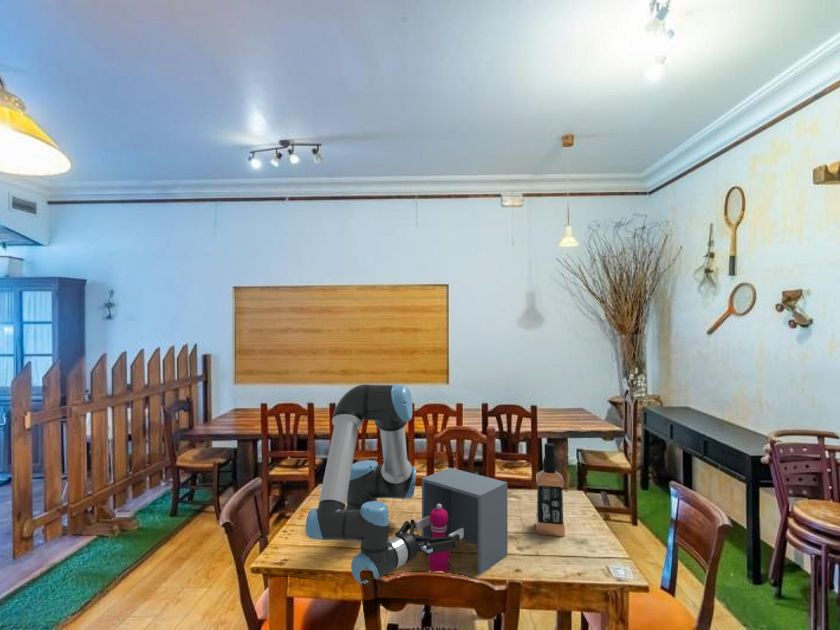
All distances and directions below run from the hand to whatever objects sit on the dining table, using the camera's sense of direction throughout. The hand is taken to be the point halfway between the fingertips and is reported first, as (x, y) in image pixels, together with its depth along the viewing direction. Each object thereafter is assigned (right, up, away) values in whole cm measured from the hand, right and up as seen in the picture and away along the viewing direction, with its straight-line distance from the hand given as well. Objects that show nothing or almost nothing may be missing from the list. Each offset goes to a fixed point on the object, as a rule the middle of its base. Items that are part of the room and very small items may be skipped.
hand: (445, 526), depth 146 cm
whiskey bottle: (+41, -13, +25) cm, 49 cm away
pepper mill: (-2, -12, -3) cm, 13 cm away
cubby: (+7, -12, +7) cm, 16 cm away
